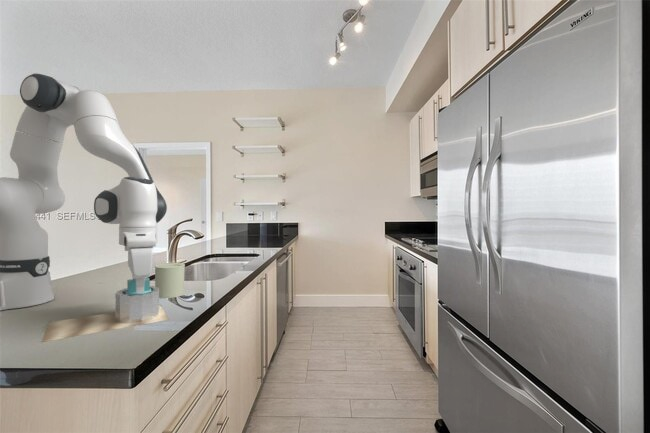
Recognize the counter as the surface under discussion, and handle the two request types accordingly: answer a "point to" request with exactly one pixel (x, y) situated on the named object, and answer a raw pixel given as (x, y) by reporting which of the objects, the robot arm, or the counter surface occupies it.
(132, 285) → the teal disc with post
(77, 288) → the counter surface
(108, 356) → the counter surface
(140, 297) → the white thick faceted ring
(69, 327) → the base plate
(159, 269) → the can
